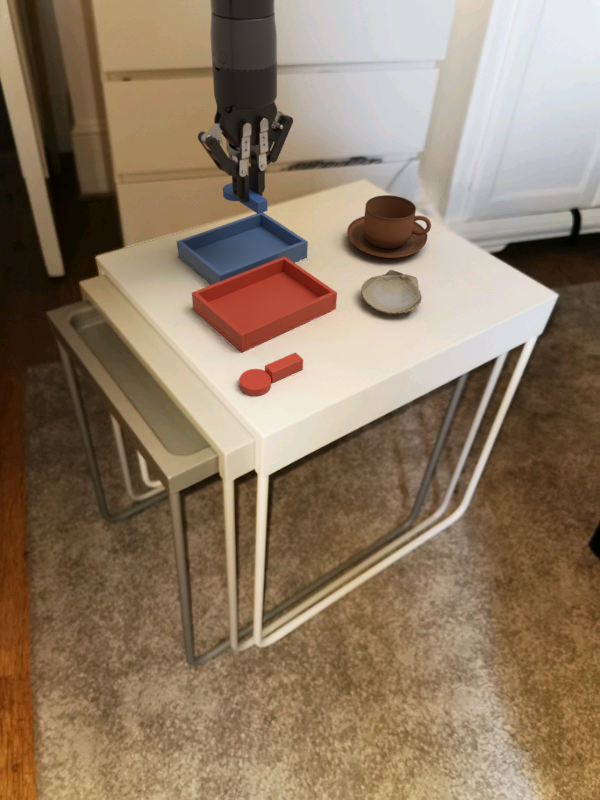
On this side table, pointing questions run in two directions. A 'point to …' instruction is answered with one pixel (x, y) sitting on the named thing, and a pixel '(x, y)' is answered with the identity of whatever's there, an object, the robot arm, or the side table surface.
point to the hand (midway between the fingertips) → (249, 197)
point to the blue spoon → (255, 200)
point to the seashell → (392, 292)
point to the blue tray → (240, 247)
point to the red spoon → (269, 374)
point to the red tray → (263, 302)
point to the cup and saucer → (389, 228)
